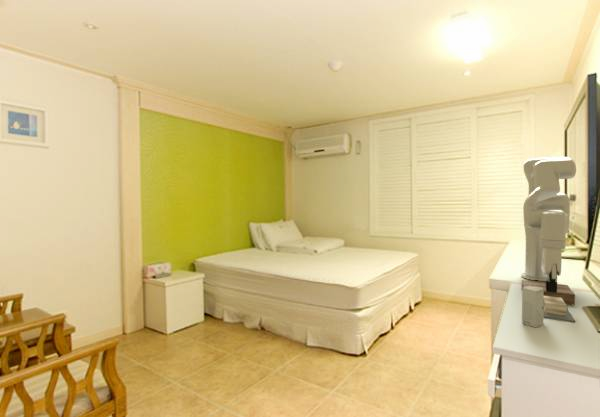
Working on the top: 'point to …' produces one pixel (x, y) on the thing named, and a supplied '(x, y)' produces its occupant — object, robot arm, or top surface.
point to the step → (562, 292)
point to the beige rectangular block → (554, 305)
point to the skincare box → (532, 306)
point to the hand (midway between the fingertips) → (551, 291)
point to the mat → (560, 316)
